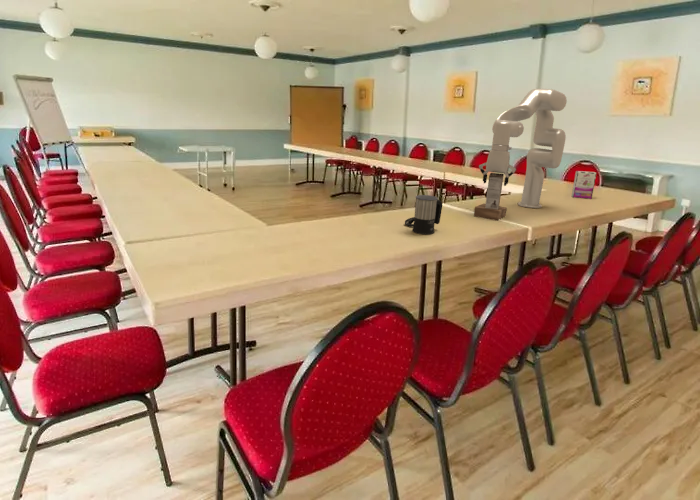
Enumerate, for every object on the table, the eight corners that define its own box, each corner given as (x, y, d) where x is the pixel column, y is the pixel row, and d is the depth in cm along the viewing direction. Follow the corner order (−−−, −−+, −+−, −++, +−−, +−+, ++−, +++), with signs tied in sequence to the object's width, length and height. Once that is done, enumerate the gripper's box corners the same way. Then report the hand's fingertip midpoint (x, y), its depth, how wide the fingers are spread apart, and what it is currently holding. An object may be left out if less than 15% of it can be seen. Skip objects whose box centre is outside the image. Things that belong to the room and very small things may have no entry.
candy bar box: (589, 197, 300) (594, 171, 295) (591, 199, 295) (597, 173, 290) (570, 196, 302) (575, 170, 297) (572, 197, 297) (578, 171, 292)
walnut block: (482, 213, 241) (483, 203, 240) (505, 217, 235) (507, 207, 233) (473, 216, 232) (474, 206, 230) (497, 221, 225) (499, 211, 224)
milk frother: (428, 236, 192) (432, 200, 187) (394, 228, 200) (397, 194, 195) (442, 229, 203) (446, 195, 199) (409, 222, 211) (412, 190, 207)
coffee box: (486, 204, 236) (490, 172, 231) (499, 205, 234) (503, 173, 229) (484, 208, 228) (489, 175, 223) (498, 209, 226) (503, 176, 221)
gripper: (520, 149, 223) (514, 185, 228) (483, 146, 230) (478, 181, 235) (517, 150, 216) (512, 187, 222) (479, 147, 224) (475, 183, 229)
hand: (494, 184), depth 229 cm, fingers open, 9 cm apart
